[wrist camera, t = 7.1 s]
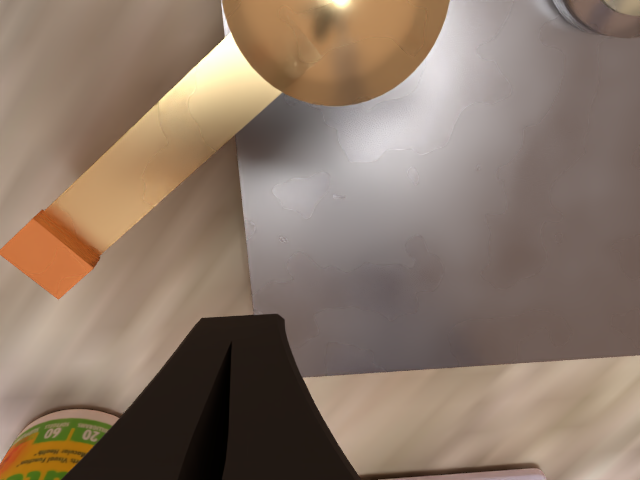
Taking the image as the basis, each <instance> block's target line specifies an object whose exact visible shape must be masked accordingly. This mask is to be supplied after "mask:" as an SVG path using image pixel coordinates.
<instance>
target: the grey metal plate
mask: <svg viewBox="0 0 640 480" xmlns="http://www.w3.org/2000/svg"><path fill="white" fill-rule="evenodd" d="M221 4H222V0H221ZM222 14H223V23H224V33H225V37H226V36H228V35H229V34H230V33H231V32H230V30H229V27H228V24H227V21H226V17H225V14H224V10H223V4H222ZM235 138H236V148H237V157H238V167H239V177H240V186H241V196H242V205H243V215H244V225H245V234H246V244H247V253H248V263H249V272H250V282H251V292H252V301H253V311H254V315H261V314H279V315H280V316H281V317H282V318H284V319H285V330H286V335H287V339H288V342H289V345H290V349H291V351H292V354H293V357H294V359H295V362H296V365H297V367H298V369H299V372H300V374H301V376H302V377H318V376H333V375H348V374H363V373H378V372H393V371H408V370H423V369H438V368H453V367H469V366H484V365H499V364H514V363H529V362H544V361H559V360H574V359H589V358H604V357H620V356H635V355H640V0H450V2H449V7H448V11H447V15H446V18H445V21H444V24H443V27H442V29H441V32H440V34H439V36H438V38H437V40H436V42H435V44H434V46H433V47H432V49H431V50H430V52H429V54H428V55H427V57H426V58H425V59H424V61H423V62H422V63H421V64H420V65H419V67H418V68H417V69H416V70H415V71H414V72H413V73H412V74H411V75H410V76H409V77H408V78H407V79H406V80H404V81H403V82H402V83H400V84H399V85H398V86H396V87H395V88H394V89H392V90H390V91H388V92H386V93H385V94H383V95H381V96H379V97H376V98H374V99H371V100H369V101H366V102H362V103H358V104H354V105H346V106H323V105H316V104H311V103H307V102H304V101H300V100H298V99H295V98H293V97H291V96H288V95H286V94H285V93H283V92H282V93H281V94H280V95H279V96H278V97H277V98H276V99H274V100H273V101H272V102H271V103H270V104H269V105H268V106H267V107H266V108H264V109H263V110H262V111H261V112H260V113H259V114H258V115H257V116H255V117H254V118H253V119H252V120H251V121H250V122H249V123H248V124H246V125H245V126H244V127H243V128H242V129H241V130H240V131H239V132H238V133H236V134H235Z"/></svg>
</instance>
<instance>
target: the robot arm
mask: <svg viewBox="0 0 640 480" xmlns="http://www.w3.org/2000/svg"><path fill="white" fill-rule="evenodd" d="M61 480H361V479H360V477H359V476H358V474H357V473H356V471H355V470H354V468H353V467H352V465H351V464H350V462H349V461H348V459H347V458H346V456H345V455H344V453H343V451H342V450H341V448H340V447H339V445H338V443H337V442H336V440H335V438H334V437H333V435H332V433H331V431H330V430H329V428H328V426H327V425H326V423H325V421H324V420H323V418H322V416H321V414H320V412H319V410H318V408H317V407H316V405H315V403H314V401H313V399H312V397H311V395H310V393H309V391H308V388H307V386H306V384H305V382H304V380H303V378H302V376H301V374H300V372H299V369H298V367H297V365H296V362H295V359H294V357H293V354H292V351H291V349H290V345H289V342H288V339H287V335H286V330H285V319H284V318H282V317H281V316H280V315H279V314H261V315H245V316H228V317H212V318H201V319H200V321H199V322H198V323H197V324H196V325H195V326H194V327H193V329H192V330H191V331H190V332H189V334H188V335H187V336H186V338H185V339H184V340H183V342H182V343H181V344H180V346H179V347H178V348H177V349H176V351H175V352H174V353H173V355H172V356H171V357H170V358H169V360H168V361H167V362H166V364H165V365H164V366H163V367H162V369H161V370H160V371H159V372H158V374H157V375H156V376H155V377H154V378H153V380H152V381H151V382H150V383H149V384H148V386H147V387H146V388H145V389H144V390H143V391H142V393H141V394H140V395H139V396H138V397H137V399H136V400H135V401H134V402H133V403H132V405H131V406H130V407H129V408H128V409H127V410H126V412H125V413H124V414H123V415H122V416H121V417H120V418H119V419H118V420H117V421H116V423H115V424H114V425H113V426H112V427H111V428H110V429H109V430H108V431H107V432H106V433H105V434H104V435H103V436H102V438H101V439H100V440H99V441H98V442H97V443H96V444H95V445H94V446H93V447H92V448H91V449H90V450H89V452H88V453H87V454H86V455H85V456H84V457H83V458H82V459H81V460H80V461H79V462H78V463H77V464H76V465H75V466H74V467H73V468H72V469H71V470H70V471H69V472H68V473H67V474H66V475H65V476H64V477H63V478H62V479H61ZM380 480H547V479H546V477H545V475H544V473H543V472H542V470H540V469H537V468H529V469H515V470H502V471H488V472H475V473H461V474H448V475H434V476H420V477H407V478H393V479H380Z"/></svg>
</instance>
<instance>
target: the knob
mask: <svg viewBox="0 0 640 480" xmlns="http://www.w3.org/2000/svg"><path fill="white" fill-rule="evenodd" d="M449 2H450V0H222V4H223V10H224V14H225V17H226V21H227V24H228V27H229V30H230V32H231V33H230V34H229V35H228V36H226V37H225V38H224V39H223V40H222V41H221V42H220V43H219V44H218V45H217V46H216V47H215V48H214V49H213V50H212V51H211V52H210V53H209V54H208V55H207V56H206V57H205V58H204V59H202V60H201V61H200V62H199V63H198V64H197V65H196V66H195V67H194V68H193V69H192V70H191V71H190V72H189V73H188V74H187V75H186V76H185V77H184V78H183V79H182V80H181V81H180V82H179V83H177V84H176V85H175V86H174V87H173V88H172V89H171V90H170V91H169V92H168V93H167V94H166V95H165V96H164V97H163V98H162V99H161V100H160V101H159V102H158V103H157V104H156V105H155V106H153V107H152V108H151V109H150V110H149V111H148V112H147V113H146V114H145V115H144V116H143V117H142V118H141V119H140V120H139V121H138V122H137V123H136V124H135V125H134V126H133V127H132V128H131V129H129V130H128V131H127V132H126V133H125V134H124V135H123V136H122V137H121V138H120V139H119V140H118V141H117V142H116V143H115V144H114V145H113V146H112V147H111V148H110V149H109V150H108V151H107V152H105V153H104V154H103V155H102V156H101V157H100V158H99V159H98V160H97V161H96V162H95V163H94V164H93V165H92V166H91V167H90V168H89V169H88V170H87V171H86V172H85V173H84V174H83V175H81V176H80V177H79V178H78V179H77V180H76V181H75V182H74V183H73V184H72V185H71V186H70V187H69V188H68V189H67V190H66V191H65V192H64V193H63V194H62V195H61V196H60V197H59V198H57V199H56V200H55V201H54V202H53V203H52V204H51V205H50V206H49V207H48V208H47V209H46V210H45V211H44V210H43V209H42V210H41V211H40V212H39V213H38V214H37V215H36V216H35V217H34V218H33V219H32V220H31V221H30V222H29V223H28V224H27V225H26V226H24V227H23V228H22V229H21V230H20V231H19V232H18V233H17V234H16V235H15V236H14V237H13V238H12V239H11V240H10V241H9V242H8V243H7V244H6V245H5V246H4V247H3V248H2V249H1V250H0V255H1V256H3V257H4V258H5V259H6V260H8V261H9V262H10V263H12V264H13V265H14V266H16V267H17V268H18V269H19V270H21V271H22V272H23V273H25V274H26V275H27V276H28V277H30V278H31V279H32V280H34V281H35V282H36V283H38V284H39V285H40V286H41V287H43V288H44V289H45V290H47V291H48V292H49V293H51V294H52V295H53V296H54V297H56V298H57V299H60V298H61V297H62V296H63V295H64V294H65V293H66V292H67V291H69V290H70V289H71V288H72V287H73V286H74V285H75V284H76V283H78V282H79V281H80V280H81V279H82V278H83V277H84V276H85V275H87V274H88V273H89V272H90V271H91V270H92V269H93V268H94V267H95V265H96V264H97V262H98V261H99V259H100V257H99V256H100V255H101V254H102V253H103V252H104V251H105V250H107V249H108V248H109V247H110V246H111V245H112V244H113V243H114V242H116V241H117V240H118V239H119V238H120V237H121V236H122V235H123V234H124V233H126V232H127V231H128V230H129V229H130V228H131V227H132V226H133V225H135V224H136V223H137V222H138V221H139V220H140V219H141V218H142V217H144V216H145V215H146V214H147V213H148V212H149V211H150V210H151V209H152V208H154V207H155V206H156V205H157V204H158V203H159V202H160V201H161V200H163V199H164V198H165V197H166V196H167V195H168V194H169V193H170V192H171V191H173V190H174V189H175V188H176V187H177V186H178V185H179V184H180V183H182V182H183V181H184V180H185V179H186V178H187V177H188V176H189V175H191V174H192V173H193V172H194V171H195V170H196V169H197V168H198V167H199V166H201V165H202V164H203V163H204V162H205V161H206V160H207V159H208V158H210V157H211V156H212V155H213V154H214V153H215V152H216V151H217V150H219V149H220V148H221V147H222V146H223V145H224V144H225V143H226V142H227V141H229V140H230V139H231V138H232V137H233V136H234V135H235V134H236V133H238V132H239V131H240V130H241V129H242V128H243V127H244V126H245V125H246V124H248V123H249V122H250V121H251V120H252V119H253V118H254V117H255V116H257V115H258V114H259V113H260V112H261V111H262V110H263V109H264V108H266V107H267V106H268V105H269V104H270V103H271V102H272V101H273V100H274V99H276V98H277V97H278V96H279V95H280V94H281V93H282V92H283V93H285V94H286V95H288V96H291V97H293V98H295V99H298V100H300V101H304V102H307V103H311V104H316V105H323V106H346V105H354V104H358V103H362V102H366V101H369V100H371V99H374V98H376V97H379V96H381V95H383V94H385V93H386V92H388V91H390V90H392V89H394V88H395V87H396V86H398V85H399V84H400V83H402V82H403V81H404V80H406V79H407V78H408V77H409V76H410V75H411V74H412V73H413V72H414V71H415V70H416V69H417V68H418V67H419V65H420V64H421V63H422V62H423V61H424V59H425V58H426V57H427V55H428V54H429V52H430V50H431V49H432V47H433V46H434V44H435V42H436V40H437V38H438V36H439V34H440V32H441V29H442V27H443V24H444V21H445V18H446V15H447V11H448V7H449Z"/></svg>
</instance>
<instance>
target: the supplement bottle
mask: <svg viewBox="0 0 640 480" xmlns="http://www.w3.org/2000/svg"><path fill="white" fill-rule="evenodd" d="M118 419H119V418H118V417H116V416H114V415H111V414H108V413H104V412H101V411H95V410H88V409H69V410H62V411H58V412H54V413H51V414H48V415H45V416H43V417H41V418H39V419H37V420H35V421H34V422H32V423H31V424H29V425H28V426H27V427H26V428H25V429H24V430H23V431H22V432H21V433H20V434H19V435H18V437H17V438H16V440H15V441H14V443H13V444H12V446H11V447H10V449H9V450H8V452H7V454H6V455H5V457H4V459H3V460H2V462H1V464H0V480H61V479H62V478H63V477H64V476H65V475H66V474H67V473H68V472H69V471H70V470H71V469H72V468H73V467H74V466H75V465H76V464H77V463H78V462H79V461H80V460H81V459H82V458H83V457H84V456H85V455H86V454H87V453H88V452H89V450H90V449H91V448H92V447H93V446H94V445H95V444H96V443H97V442H98V441H99V440H100V439H101V438H102V436H103V435H104V434H105V433H106V432H107V431H108V430H109V429H110V428H111V427H112V426H113V425H114V424H115V423H116V421H117V420H118Z"/></svg>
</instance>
